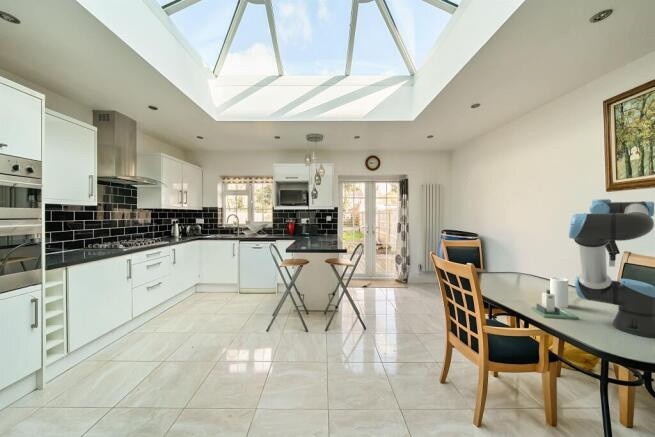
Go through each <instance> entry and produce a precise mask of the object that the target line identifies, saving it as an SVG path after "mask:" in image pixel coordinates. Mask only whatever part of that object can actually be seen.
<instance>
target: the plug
mask: <svg viewBox="0 0 655 437" xmlns="http://www.w3.org/2000/svg"><path fill="white" fill-rule="evenodd" d="M541 306H543V307H545V308H546V312H555V307H556V306H555V295H554V294H552V293H550V289H546V292H541Z"/></svg>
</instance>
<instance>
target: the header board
mask: <svg viewBox="0 0 655 437" xmlns="http://www.w3.org/2000/svg"><path fill="white" fill-rule="evenodd" d="M531 310H532V311H533V312H535V313H537V315H540V316H541V317H542V318H546V319H548V318H549V319H564V320H580V317H579V316H578V315H576V314H574V313H571V312H569V311H568V310H566V309H564V308H560V307H556V306H555V312H546V308H545V307H543V306H542V304H539V303H536V307H532V306H531Z"/></svg>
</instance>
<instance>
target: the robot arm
mask: <svg viewBox="0 0 655 437" xmlns="http://www.w3.org/2000/svg"><path fill="white" fill-rule="evenodd" d="M653 216H655V202H654V201H643V200H642V201H623V202H621V201H617V202H616V201H615V202H613V201H612V200H611V199H609V198H608V199H607V198H606V199H605V198H603V199H593V200H592V201H591V204H590V207H589V213H586V212H584V213H575V214H573V215H572V216H571V220H570V223H569V233H568V237H569V239H573V240H574V242H575V243H576V244H577V245H578V246H579V247H578V248H579V256H580V266H581V273H580V274H579V275H578V276H576V277H575V281H574V286H575V292H576V295H577V296H578V297H579V298H580V299H582V300H586V301H591V302H596V303H597V302H598V303H605V304H608V305H609V304H610V305H615V306H618V309H617V310H618V311H617V312H616V315H615V317H614V319H613V321H612V326H613V327H614V328H615V329H617V330H619V331H622V332H624V333H628V334H631V335H637V336H640V337H646V338H655V286H654V285H653V284H650V283H647V282H644V281H640V280H634V279H629V278H619V279H618V281H617V280H612V278H611V276H609V275H608V274H607V267H613V268H615V267H616V257H617V256H616V255H620V250H619V248H618V245H617V242H616V241H618V242H621V241H622V242H623V241H624V242H625V241H630V240H631V241H632V240H634V239H635V240H637V239H638V238H641V237H644V236H646V235H648V234H649V233H650V232H652V230H653V229H654V227H655V226H654V225H655V222H654V221H655V220H654V219H653ZM606 252H607V254H606Z"/></svg>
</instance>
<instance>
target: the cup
mask: <svg viewBox="0 0 655 437" xmlns="http://www.w3.org/2000/svg"><path fill="white" fill-rule="evenodd" d="M549 290H550V293H552V294H554V295H555V307H557V308H561V309H564V308H565V309H567V308H569V279H568V278H563V277H555V276H554V277H553V276H551V277H550V280H549Z"/></svg>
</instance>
